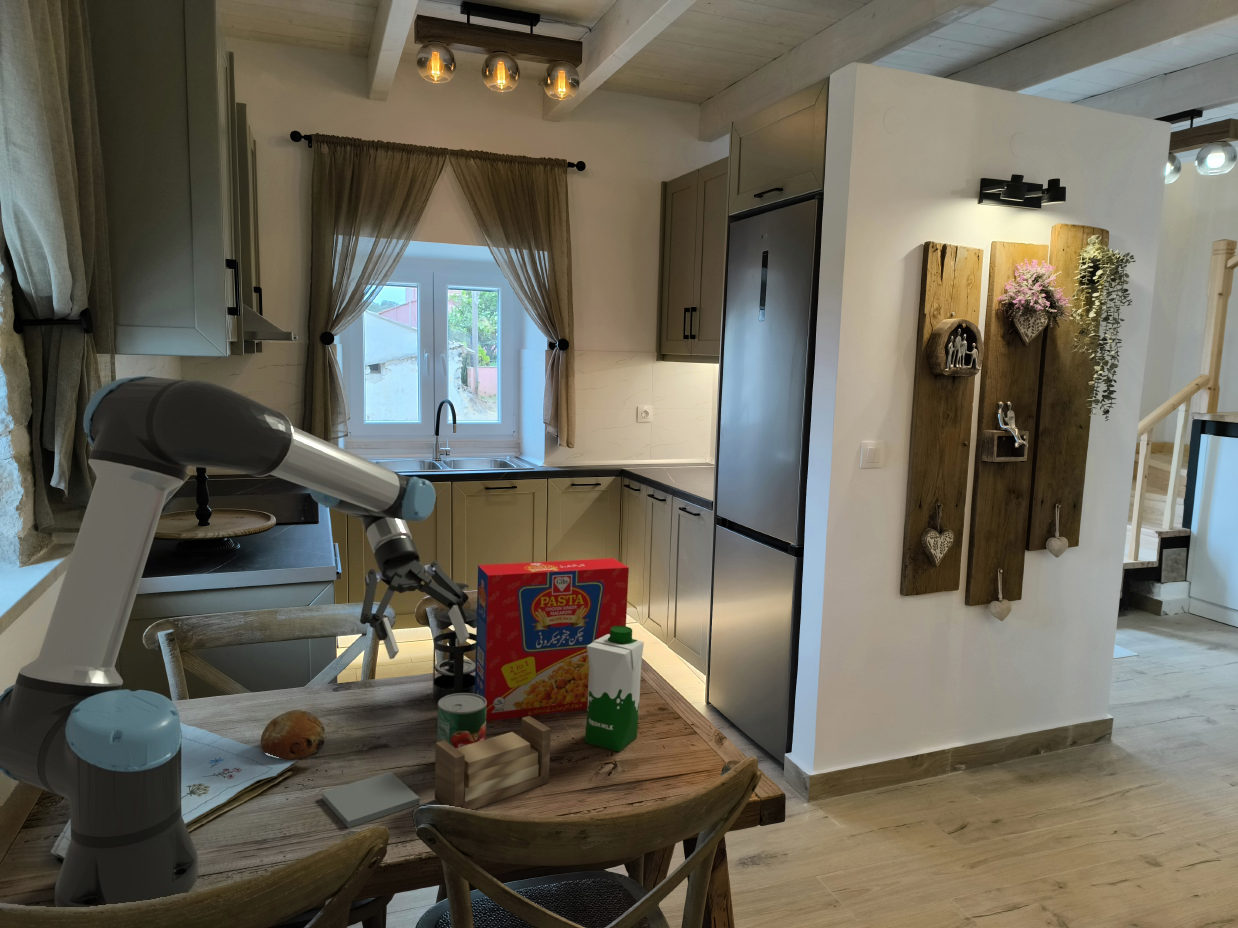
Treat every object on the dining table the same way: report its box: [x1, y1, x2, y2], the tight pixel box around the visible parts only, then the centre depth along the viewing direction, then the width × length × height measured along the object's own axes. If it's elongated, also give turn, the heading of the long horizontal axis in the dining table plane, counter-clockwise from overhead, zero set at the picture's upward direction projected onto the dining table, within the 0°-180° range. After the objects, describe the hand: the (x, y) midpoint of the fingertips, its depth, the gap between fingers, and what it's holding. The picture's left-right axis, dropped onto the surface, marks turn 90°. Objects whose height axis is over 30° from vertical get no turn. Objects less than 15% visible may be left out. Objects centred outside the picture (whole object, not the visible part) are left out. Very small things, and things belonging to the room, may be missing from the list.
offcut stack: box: [456, 731, 539, 802], centre depth 128 cm, size 13×5×6 cm, turn 130°
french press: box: [431, 582, 477, 705], centre depth 163 cm, size 12×9×23 cm
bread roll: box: [260, 709, 328, 761], centre depth 140 cm, size 10×10×8 cm
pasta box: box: [474, 557, 630, 723], centre depth 160 cm, size 28×8×28 cm, turn 113°
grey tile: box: [321, 771, 421, 829], centre depth 123 cm, size 11×10×1 cm
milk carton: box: [584, 625, 645, 753], centre depth 147 cm, size 9×9×20 cm
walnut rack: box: [434, 716, 552, 810], centre depth 128 cm, size 17×6×9 cm, turn 130°
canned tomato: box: [437, 693, 487, 748], centre depth 135 cm, size 8×8×11 cm
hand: (430, 647), depth 143 cm, fingers open, 13 cm apart
